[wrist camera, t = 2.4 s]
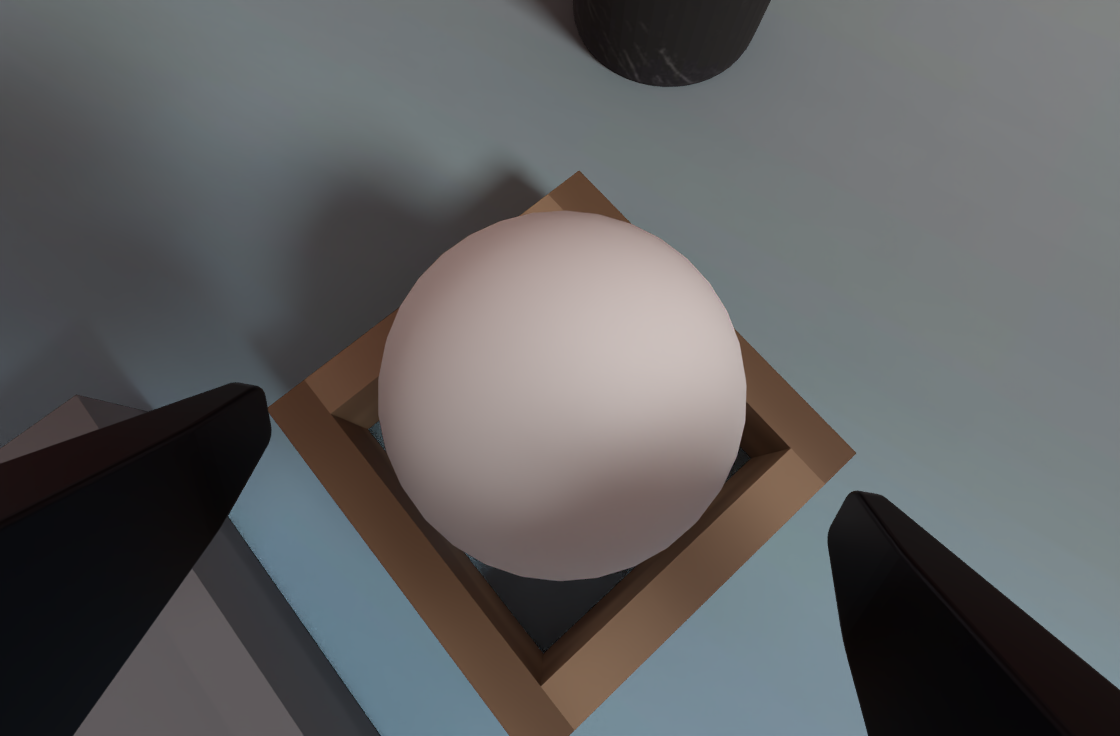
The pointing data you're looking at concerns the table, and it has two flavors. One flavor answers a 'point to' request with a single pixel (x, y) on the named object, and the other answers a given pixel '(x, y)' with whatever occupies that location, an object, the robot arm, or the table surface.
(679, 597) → the socket block
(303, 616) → the table surface
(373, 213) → the table surface
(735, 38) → the travel mug
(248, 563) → the tray
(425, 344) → the lightbulb
